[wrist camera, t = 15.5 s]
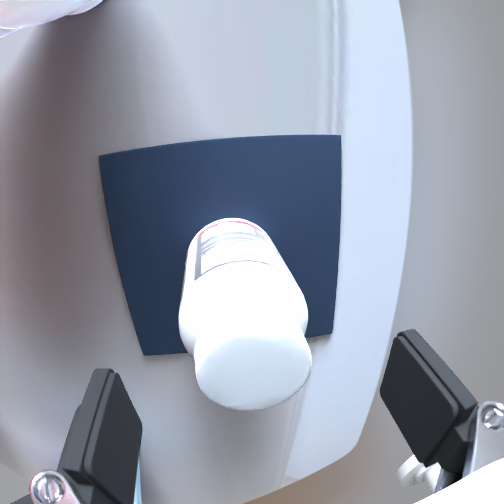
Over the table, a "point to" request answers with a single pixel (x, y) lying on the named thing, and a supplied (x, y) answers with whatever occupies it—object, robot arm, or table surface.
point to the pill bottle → (243, 318)
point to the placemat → (222, 207)
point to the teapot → (38, 12)
